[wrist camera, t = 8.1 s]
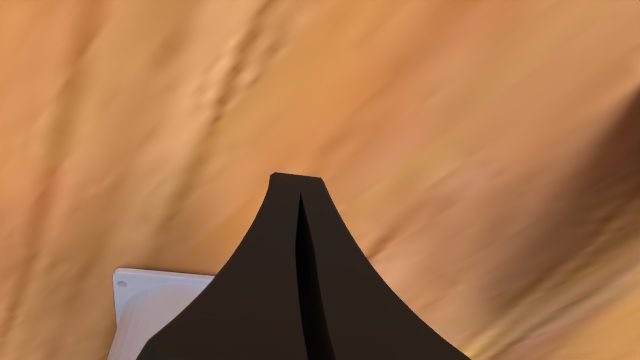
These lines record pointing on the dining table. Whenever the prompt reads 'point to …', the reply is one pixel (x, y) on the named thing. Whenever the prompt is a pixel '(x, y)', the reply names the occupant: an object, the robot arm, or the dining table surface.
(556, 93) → the dining table surface
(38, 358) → the dining table surface
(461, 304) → the dining table surface
